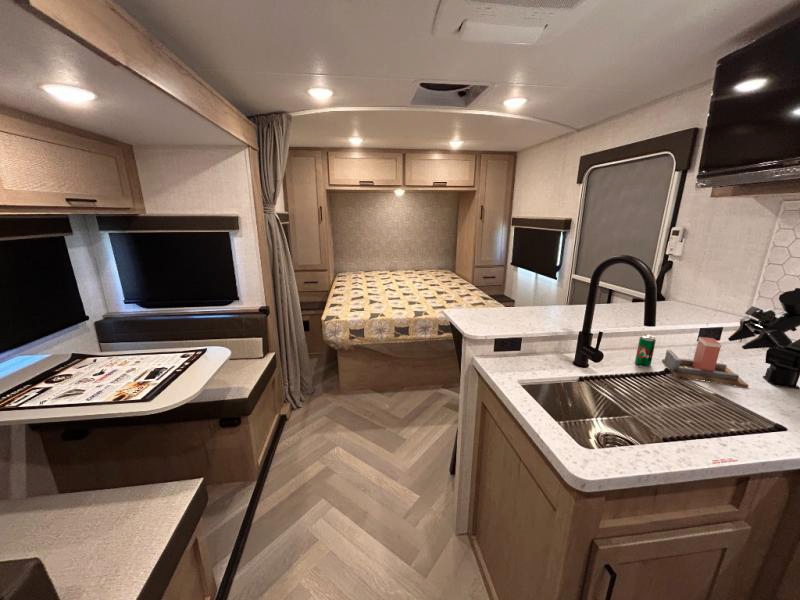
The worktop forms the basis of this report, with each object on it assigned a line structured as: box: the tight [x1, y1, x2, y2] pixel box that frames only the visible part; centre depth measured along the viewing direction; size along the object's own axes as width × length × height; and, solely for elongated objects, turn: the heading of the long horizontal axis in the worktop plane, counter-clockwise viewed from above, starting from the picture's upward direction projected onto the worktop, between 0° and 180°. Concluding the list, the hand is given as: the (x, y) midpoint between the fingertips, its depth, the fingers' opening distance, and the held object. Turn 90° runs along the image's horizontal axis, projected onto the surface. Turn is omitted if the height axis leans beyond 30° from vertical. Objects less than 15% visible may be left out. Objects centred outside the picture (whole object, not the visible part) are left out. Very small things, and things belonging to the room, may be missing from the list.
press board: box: [661, 358, 749, 388], centre depth 118 cm, size 20×14×1 cm
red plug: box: [692, 336, 722, 371], centre depth 116 cm, size 4×6×12 cm
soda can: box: [634, 334, 657, 367], centre depth 124 cm, size 5×5×12 cm
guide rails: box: [664, 349, 740, 381], centre depth 117 cm, size 18×10×5 cm, turn 67°
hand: (735, 343), depth 111 cm, fingers open, 9 cm apart
